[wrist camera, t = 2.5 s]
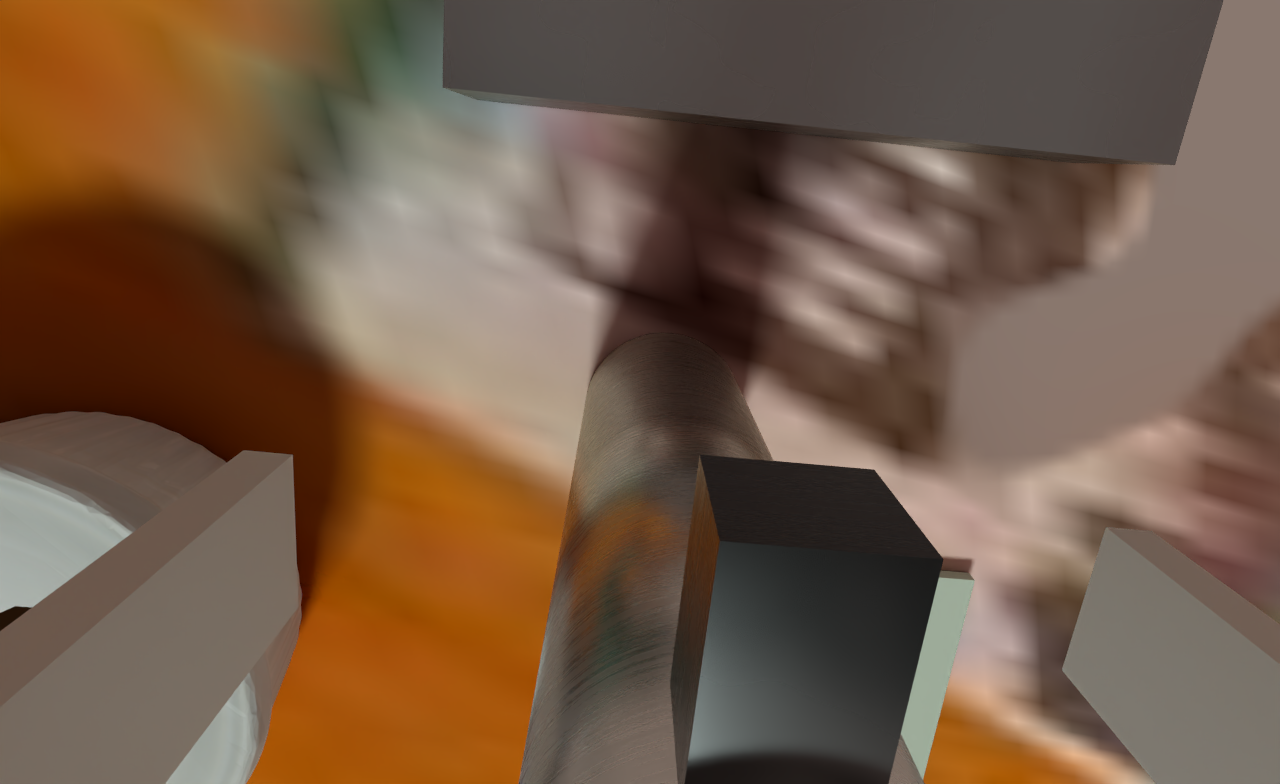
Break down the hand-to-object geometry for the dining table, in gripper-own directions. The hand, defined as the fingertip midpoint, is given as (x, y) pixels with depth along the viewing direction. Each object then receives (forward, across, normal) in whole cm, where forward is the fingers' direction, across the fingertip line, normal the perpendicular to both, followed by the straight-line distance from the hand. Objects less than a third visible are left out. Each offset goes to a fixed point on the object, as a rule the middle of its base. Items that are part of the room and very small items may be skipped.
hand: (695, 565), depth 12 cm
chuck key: (+8, 0, 0) cm, 8 cm away
